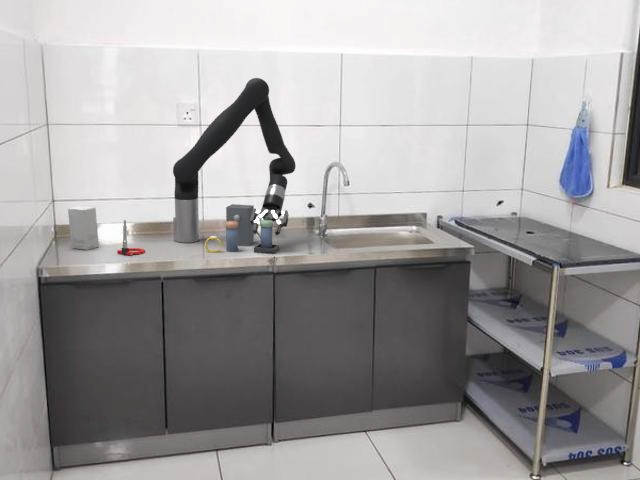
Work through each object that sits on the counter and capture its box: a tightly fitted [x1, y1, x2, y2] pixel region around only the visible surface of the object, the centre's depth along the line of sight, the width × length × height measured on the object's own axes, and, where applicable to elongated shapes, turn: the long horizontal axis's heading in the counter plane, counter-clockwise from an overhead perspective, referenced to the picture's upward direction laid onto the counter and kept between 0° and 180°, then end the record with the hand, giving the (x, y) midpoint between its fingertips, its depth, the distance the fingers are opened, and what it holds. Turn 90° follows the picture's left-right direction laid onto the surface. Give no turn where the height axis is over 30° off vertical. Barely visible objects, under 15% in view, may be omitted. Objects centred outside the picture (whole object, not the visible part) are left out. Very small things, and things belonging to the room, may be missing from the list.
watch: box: [204, 235, 222, 253], centre depth 249 cm, size 6×3×6 cm, turn 92°
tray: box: [253, 243, 280, 255], centre depth 252 cm, size 8×7×2 cm
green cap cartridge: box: [259, 220, 274, 248], centre depth 251 cm, size 5×5×11 cm
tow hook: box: [116, 219, 146, 257], centre depth 245 cm, size 8×13×9 cm
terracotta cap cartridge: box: [225, 221, 239, 253], centre depth 251 cm, size 5×5×11 cm
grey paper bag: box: [67, 205, 100, 251], centre depth 251 cm, size 8×7×16 cm
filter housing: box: [225, 203, 255, 247], centre depth 263 cm, size 9×8×15 cm
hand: (265, 233), depth 249 cm, fingers open, 8 cm apart
